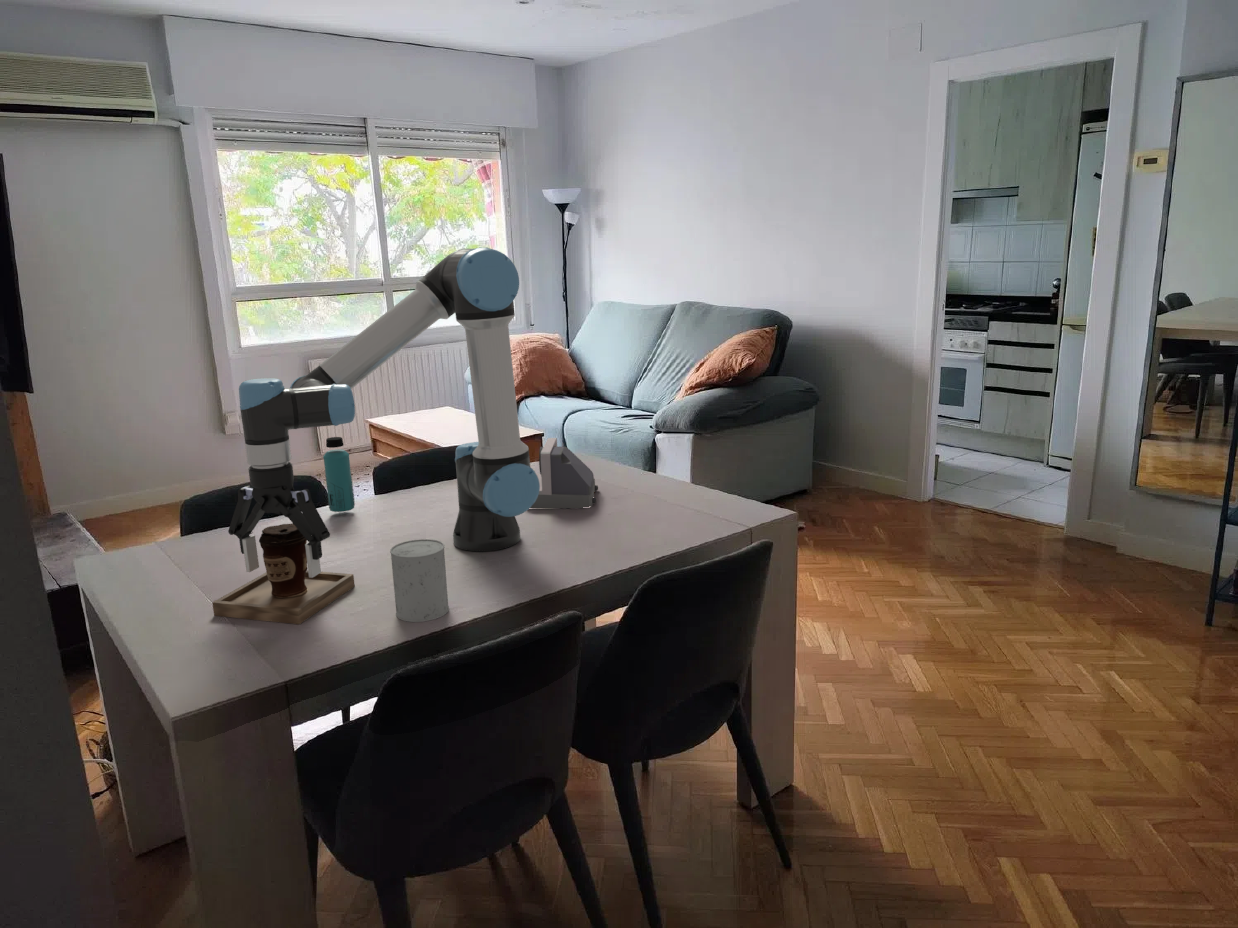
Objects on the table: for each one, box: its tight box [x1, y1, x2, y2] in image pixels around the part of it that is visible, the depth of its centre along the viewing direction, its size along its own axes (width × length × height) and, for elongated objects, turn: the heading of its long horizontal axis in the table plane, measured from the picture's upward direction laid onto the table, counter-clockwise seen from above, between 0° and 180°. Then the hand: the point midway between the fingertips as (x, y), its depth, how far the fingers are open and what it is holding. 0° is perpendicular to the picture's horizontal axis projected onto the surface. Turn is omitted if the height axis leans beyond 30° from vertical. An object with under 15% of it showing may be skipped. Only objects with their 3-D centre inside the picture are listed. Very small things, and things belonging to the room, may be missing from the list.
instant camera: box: [530, 437, 599, 508], centre depth 223 cm, size 21×21×15 cm
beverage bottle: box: [322, 436, 356, 513], centre depth 212 cm, size 6×7×20 cm
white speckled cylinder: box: [389, 538, 450, 623], centre depth 153 cm, size 10×10×12 cm
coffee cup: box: [258, 522, 308, 598], centre depth 159 cm, size 9×8×13 cm
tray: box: [212, 569, 356, 625], centre depth 161 cm, size 18×18×3 cm
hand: (283, 572), depth 160 cm, fingers open, 13 cm apart
